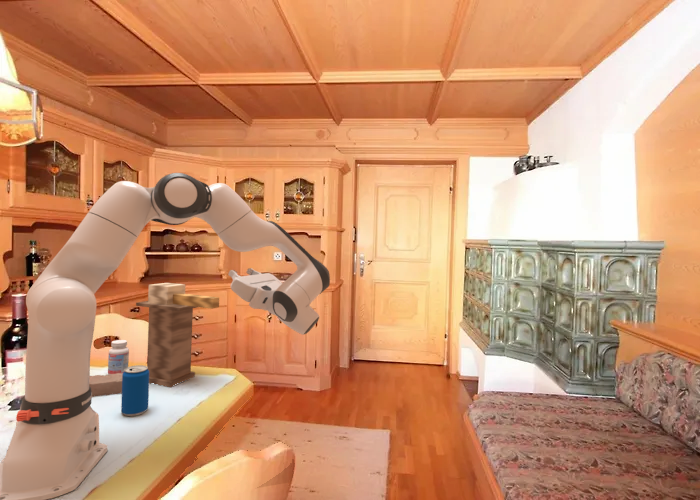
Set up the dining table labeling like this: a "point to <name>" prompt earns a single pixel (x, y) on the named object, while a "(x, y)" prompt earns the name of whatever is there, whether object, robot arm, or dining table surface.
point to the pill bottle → (118, 357)
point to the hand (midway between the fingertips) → (239, 270)
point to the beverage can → (135, 390)
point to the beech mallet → (178, 296)
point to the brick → (106, 384)
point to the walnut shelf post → (169, 343)
